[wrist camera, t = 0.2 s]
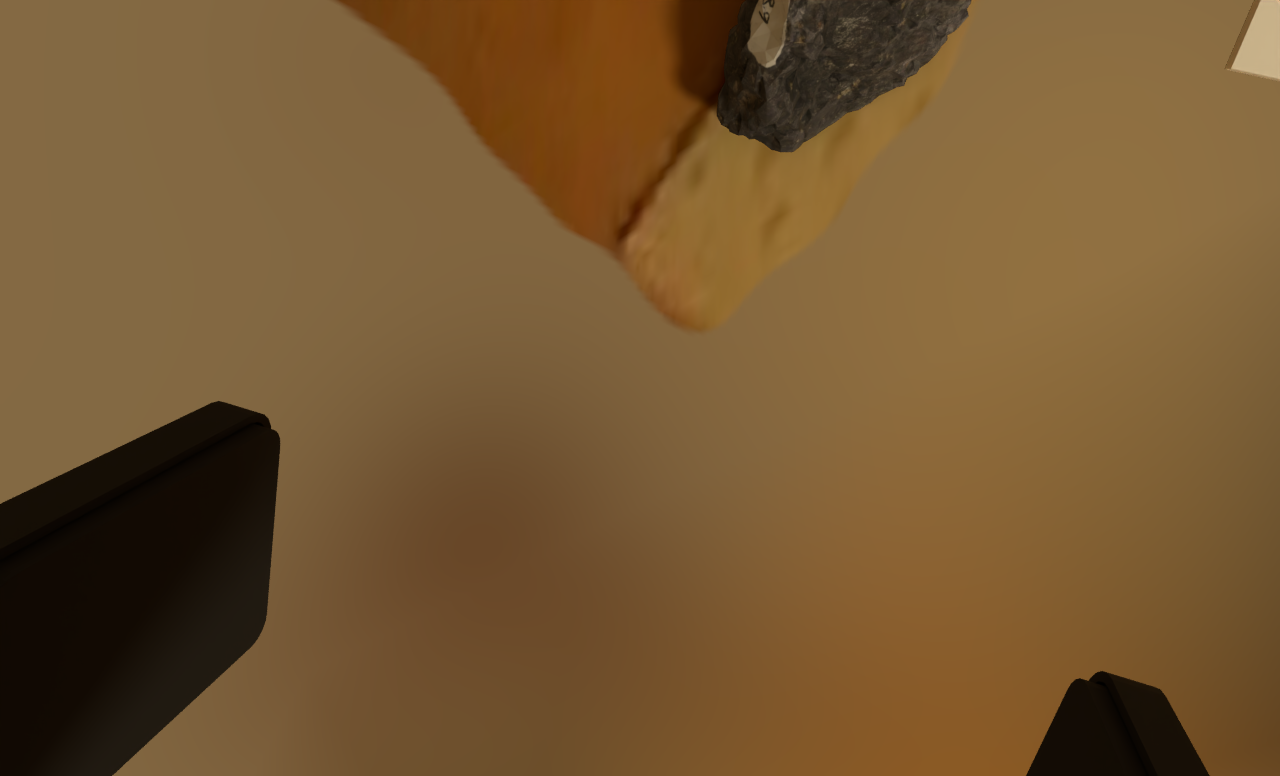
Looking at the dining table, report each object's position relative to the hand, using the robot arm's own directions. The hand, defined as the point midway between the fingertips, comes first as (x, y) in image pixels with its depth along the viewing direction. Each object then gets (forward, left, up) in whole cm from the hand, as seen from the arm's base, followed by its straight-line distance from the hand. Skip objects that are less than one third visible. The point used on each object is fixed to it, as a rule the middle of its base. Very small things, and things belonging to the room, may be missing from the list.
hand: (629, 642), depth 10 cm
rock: (-10, 0, -31) cm, 33 cm away
